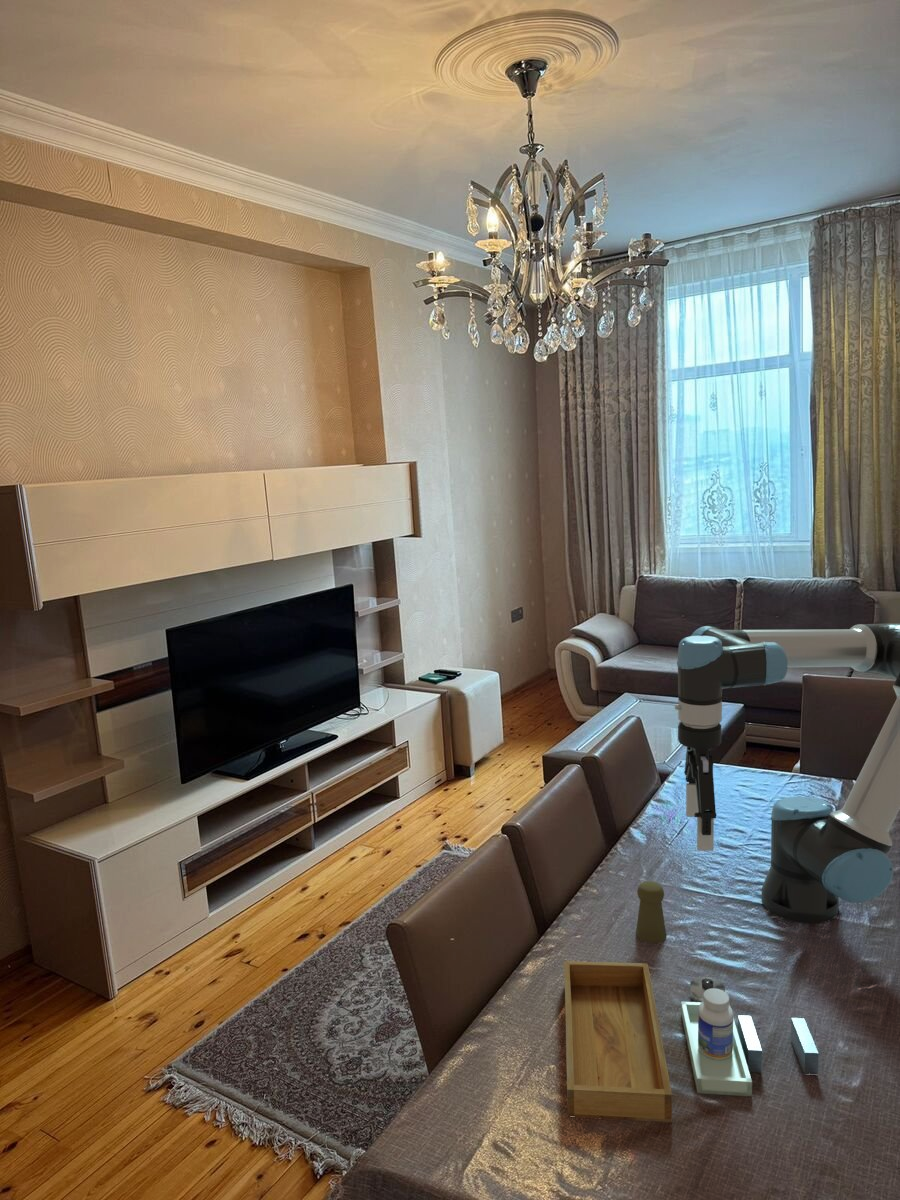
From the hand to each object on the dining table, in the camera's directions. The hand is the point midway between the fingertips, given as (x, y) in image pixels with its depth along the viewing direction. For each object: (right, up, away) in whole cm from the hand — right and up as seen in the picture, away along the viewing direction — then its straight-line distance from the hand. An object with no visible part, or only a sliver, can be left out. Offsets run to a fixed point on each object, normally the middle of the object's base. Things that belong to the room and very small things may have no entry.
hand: (699, 832), depth 154 cm
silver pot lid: (0, -28, -5) cm, 29 cm away
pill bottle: (-3, -30, -19) cm, 36 cm away
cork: (-5, -25, +15) cm, 29 cm away
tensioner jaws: (+7, -30, -20) cm, 37 cm away
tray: (-19, -32, -16) cm, 40 cm away
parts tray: (-3, -31, -18) cm, 36 cm away
